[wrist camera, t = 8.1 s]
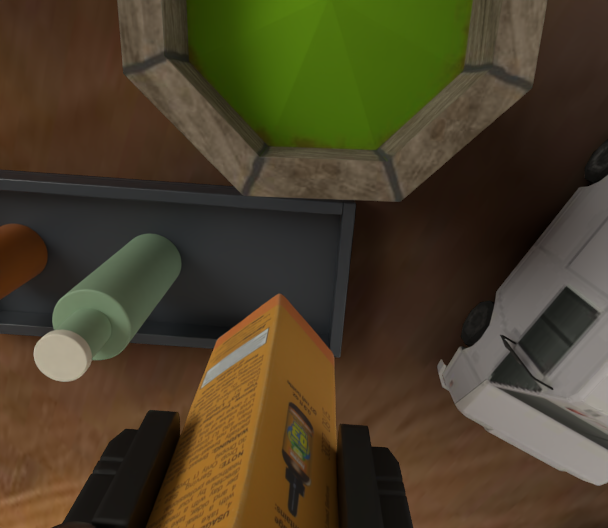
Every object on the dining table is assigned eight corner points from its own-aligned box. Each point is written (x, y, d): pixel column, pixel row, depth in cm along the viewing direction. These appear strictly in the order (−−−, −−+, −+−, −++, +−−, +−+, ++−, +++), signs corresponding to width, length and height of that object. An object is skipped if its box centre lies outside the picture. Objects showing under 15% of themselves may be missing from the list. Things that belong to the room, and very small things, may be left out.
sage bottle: (126, 285, 26) (20, 394, 17) (123, 230, 25) (8, 314, 16) (182, 289, 26) (108, 400, 17) (181, 235, 25) (102, 321, 16)
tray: (-21, 313, 28) (-47, 330, 26) (-45, 166, 25) (-77, 172, 23) (338, 339, 28) (340, 358, 26) (353, 194, 25) (356, 203, 23)
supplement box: (206, 340, 18) (89, 624, 8) (281, 287, 17) (243, 532, 8) (264, 404, 19) (215, 724, 9) (338, 355, 18) (367, 650, 9)
